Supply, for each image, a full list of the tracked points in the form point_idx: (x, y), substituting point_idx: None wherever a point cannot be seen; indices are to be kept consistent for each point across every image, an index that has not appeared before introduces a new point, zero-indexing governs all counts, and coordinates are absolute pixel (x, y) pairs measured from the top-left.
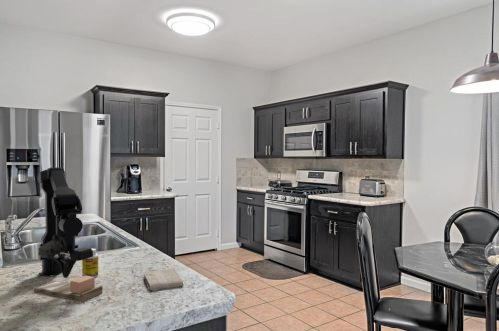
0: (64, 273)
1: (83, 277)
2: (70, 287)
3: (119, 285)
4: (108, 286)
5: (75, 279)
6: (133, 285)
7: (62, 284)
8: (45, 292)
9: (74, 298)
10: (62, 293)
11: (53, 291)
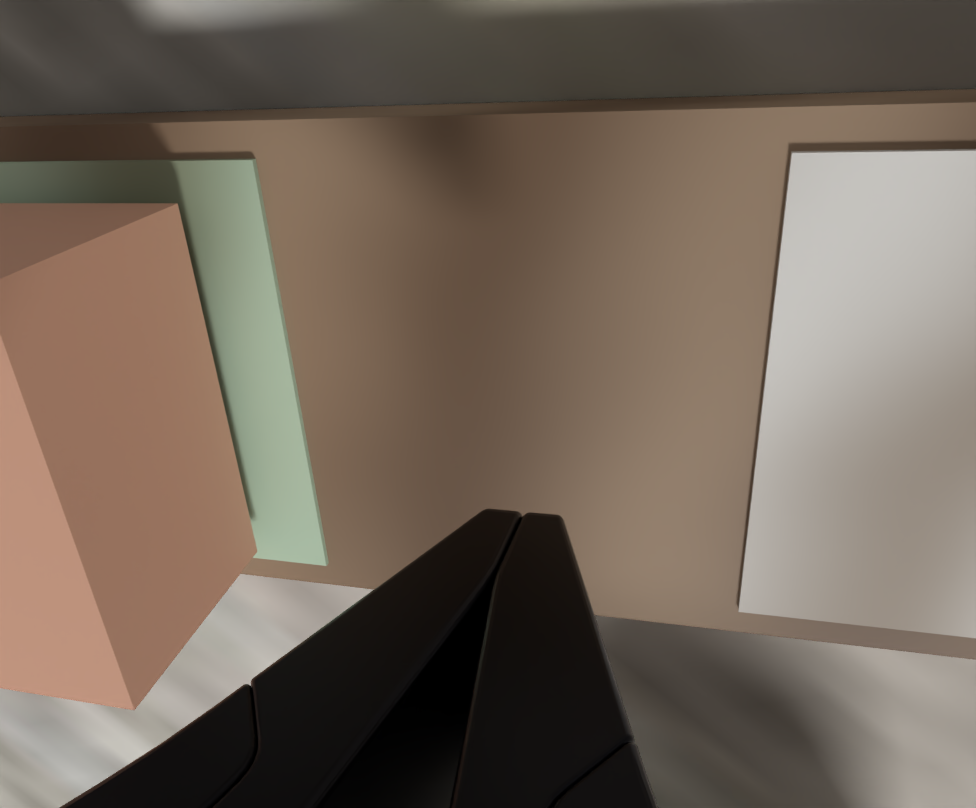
0: (447, 579)
1: (28, 600)
2: (106, 231)
3: (127, 757)
4: (204, 710)
5: (14, 434)
6: (6, 778)
7: (844, 536)
8: (970, 95)
9: (43, 119)
10: (339, 122)
11: (660, 121)
